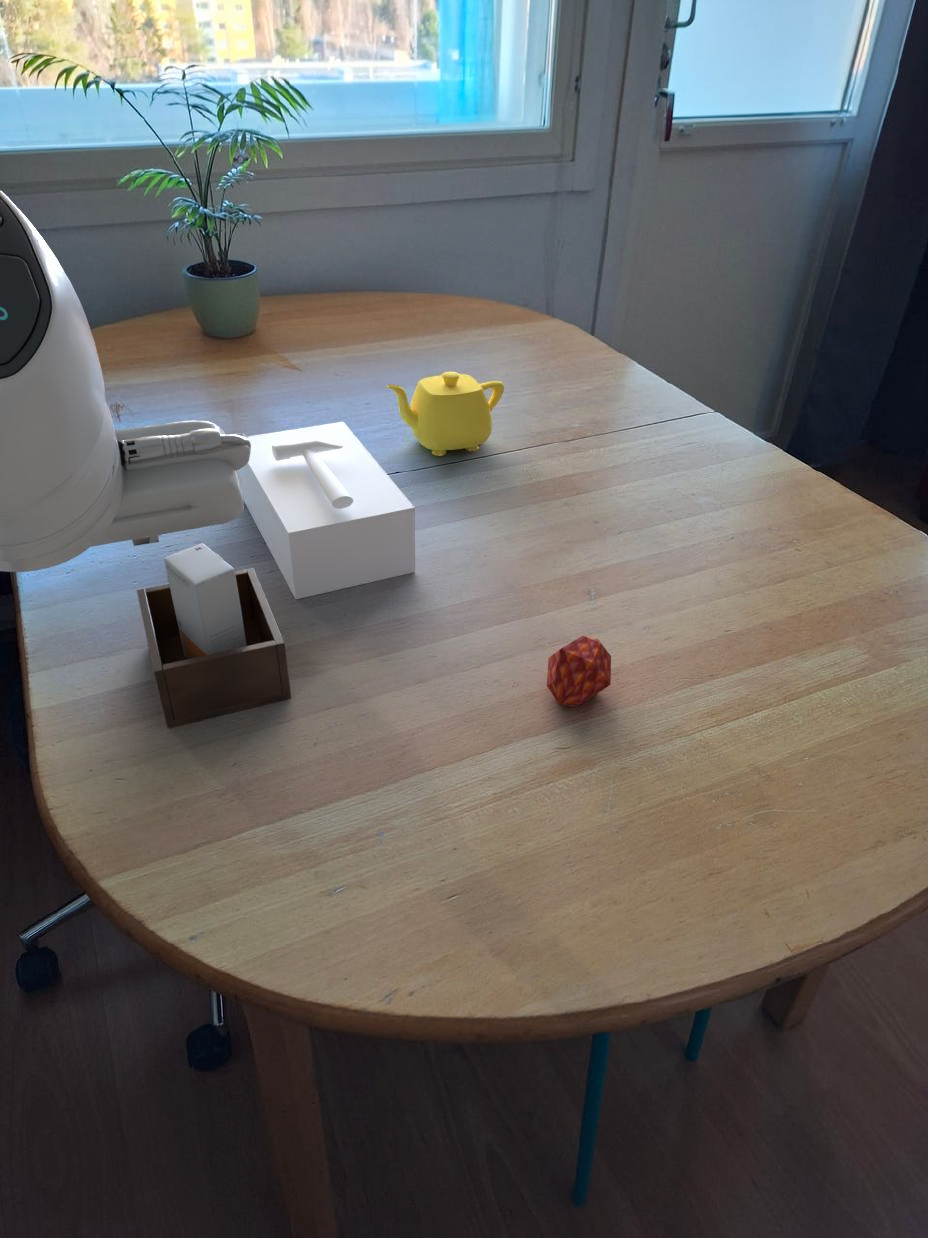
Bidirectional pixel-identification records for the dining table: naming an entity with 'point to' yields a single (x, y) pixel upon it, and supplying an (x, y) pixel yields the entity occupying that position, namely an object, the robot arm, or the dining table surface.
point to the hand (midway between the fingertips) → (58, 546)
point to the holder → (215, 658)
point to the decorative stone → (579, 671)
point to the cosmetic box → (205, 601)
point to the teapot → (449, 411)
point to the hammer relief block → (327, 509)
